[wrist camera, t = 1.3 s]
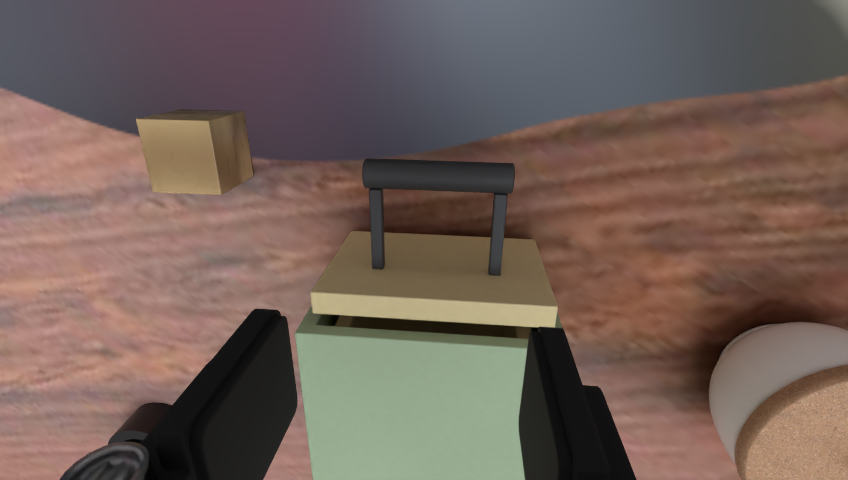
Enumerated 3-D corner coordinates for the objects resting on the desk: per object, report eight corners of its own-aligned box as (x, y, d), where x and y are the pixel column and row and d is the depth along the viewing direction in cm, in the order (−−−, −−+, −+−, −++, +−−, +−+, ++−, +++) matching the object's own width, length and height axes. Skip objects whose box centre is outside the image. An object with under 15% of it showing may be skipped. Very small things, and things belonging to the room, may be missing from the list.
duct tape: (231, 464, 39) (214, 495, 36) (126, 459, 40) (101, 489, 37) (210, 395, 36) (190, 423, 33) (97, 392, 37) (68, 418, 34)
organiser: (346, 248, 29) (294, 332, 21) (539, 258, 28) (571, 351, 20) (357, 426, 36) (320, 549, 27) (516, 439, 35) (532, 571, 26)
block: (180, 109, 27) (135, 118, 23) (244, 110, 26) (208, 120, 23) (193, 174, 28) (152, 192, 25) (253, 176, 28) (221, 195, 24)
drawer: (345, 138, 26) (297, 172, 18) (546, 144, 25) (577, 182, 18) (361, 407, 34) (331, 504, 26) (513, 420, 33) (525, 523, 26)
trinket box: (756, 445, 33) (859, 587, 24) (646, 372, 31) (714, 495, 22) (895, 350, 29) (1079, 480, 20) (778, 261, 27) (922, 359, 18)
